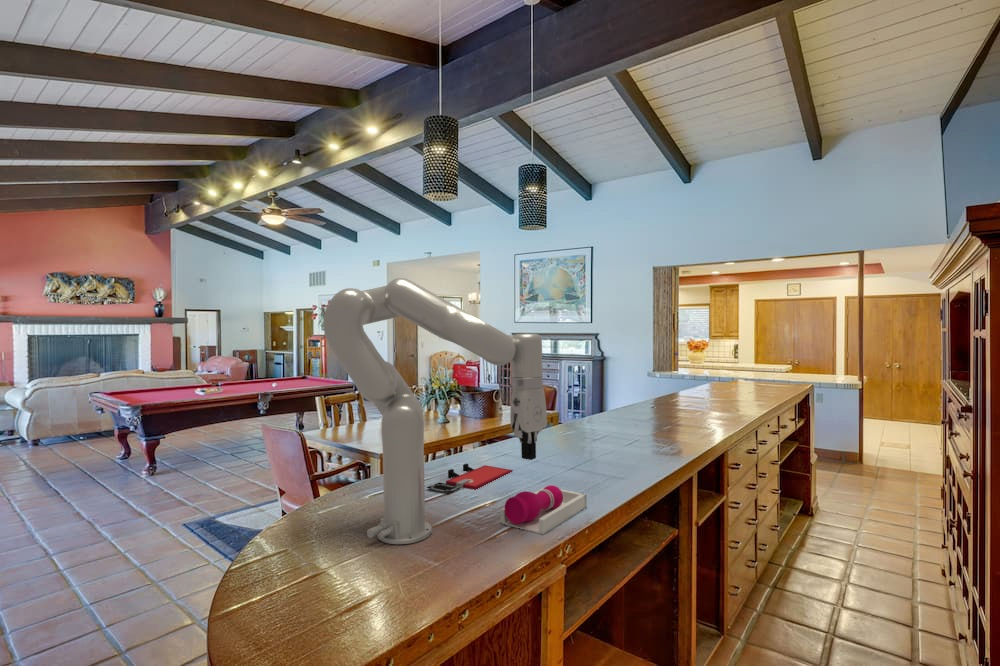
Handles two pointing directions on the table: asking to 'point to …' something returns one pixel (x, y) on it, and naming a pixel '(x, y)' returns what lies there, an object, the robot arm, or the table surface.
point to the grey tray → (551, 514)
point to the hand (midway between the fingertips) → (528, 458)
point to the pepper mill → (532, 504)
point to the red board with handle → (470, 478)
